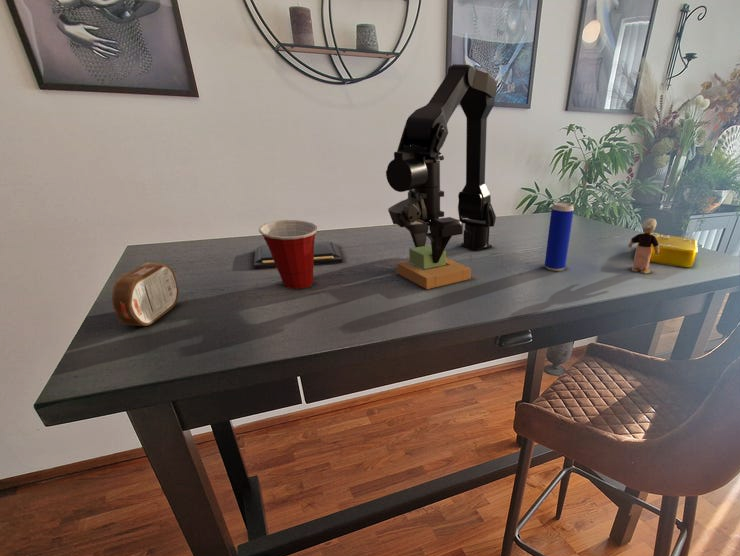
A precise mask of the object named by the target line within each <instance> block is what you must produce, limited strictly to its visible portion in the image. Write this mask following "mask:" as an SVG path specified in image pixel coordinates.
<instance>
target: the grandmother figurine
mask: <svg viewBox="0 0 740 556" xmlns="http://www.w3.org/2000/svg"><path fill="white" fill-rule="evenodd" d="M656 227H657V220H656V218H653V217H650V218H647V219H645V220H644V221H643V223H642V224H641V226H640V228H642V231H643V233H638V234H636V235H635V236H633V237H632V238H631V239H630V241H629V243H628V244H627V247H628V248H632V247H633V246H634V244H638V243H639V244H638V246H637V245H636V248H637V249H635V253H634V258H633V262H632V267H631V272H634V273H638V272H640V273H641V274H650V273H651V270H650V269H649V267H650V263H651V262H650V257H651V250H652V248H651V244H652V245H653V246H654V249H655V253H656V254H658V253H659V244H658V241H657V239H656V237H655V236H653V235H651V233H654V231H655V230H656Z"/></svg>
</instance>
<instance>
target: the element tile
mask: <svg viewBox="0 0 740 556" xmlns="http://www.w3.org/2000/svg"><path fill="white" fill-rule="evenodd" d="M651 235H653V236H655V237H656V239H657V241H658V244H659V253H658V254H656V253H655V249H654V246H653V245H652V244H651V248H652V250H651V257H650V262H649V263H654V264H661V265H667V266H673V267H680V268H692V267H693V266H694V263H695V261H696V257H697V255H698V242H697V240H696V239H695V238H690V237H684V236H683V237H682V236H676V235H675V236H674V235H667V234H660V233H658V232H652V233H651ZM638 244H639V243H636V249H637V246H638ZM636 249H635V250H636Z"/></svg>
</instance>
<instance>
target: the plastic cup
mask: <svg viewBox="0 0 740 556" xmlns="http://www.w3.org/2000/svg"><path fill="white" fill-rule="evenodd" d="M258 232H259V233H260V234H261V236H262V237H263V239H264V241H265V244H266V245H268V247H269V250H270V252H271V255H272V257H273V260H274V262H275V265H276V267H275V268H276V270H277V271H278V273H279V276H280V279H281V282H282V284H283V285H284V287H286V288H287V289H295V290H297V289H305V288H309V287H311V286H312V285H313V284H314V265H315V264H314V242H315V239H316V233H317V232H318V226H317V225H316V224H315V223H313V222H309V221H307V220H300V219H281V220H273V221H270V222H265V223H264V224H262V225H260V226H259V228H258Z"/></svg>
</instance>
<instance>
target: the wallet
mask: <svg viewBox="0 0 740 556" xmlns="http://www.w3.org/2000/svg"><path fill="white" fill-rule="evenodd" d="M337 263H343V257H342V254H341V251H340V247H339V246H338V244H337V243H335V242H333V241H329V240H323V241H322V240H321V241H314V265H323V264H337ZM253 268H254V269H269V268H277V267H276V265H275V262H274V260H273V257H272V255H271V252H270V250H269V247H268V245H267V244H261V245H259V246H257V247H256V248H255V249H254V260H253Z"/></svg>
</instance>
